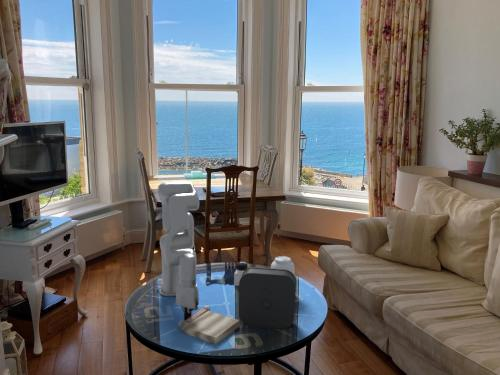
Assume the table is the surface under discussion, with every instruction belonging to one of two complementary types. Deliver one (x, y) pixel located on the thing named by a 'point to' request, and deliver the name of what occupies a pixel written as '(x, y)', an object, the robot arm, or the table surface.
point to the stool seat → (210, 327)
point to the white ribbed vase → (283, 264)
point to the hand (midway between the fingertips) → (187, 319)
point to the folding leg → (198, 314)
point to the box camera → (239, 272)
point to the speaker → (267, 297)
